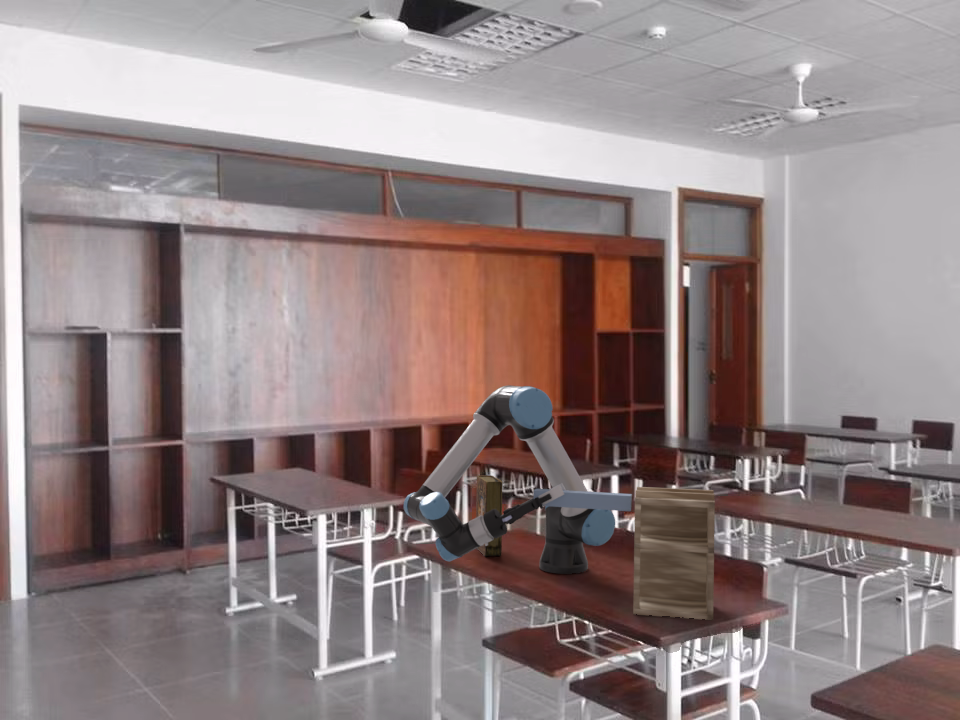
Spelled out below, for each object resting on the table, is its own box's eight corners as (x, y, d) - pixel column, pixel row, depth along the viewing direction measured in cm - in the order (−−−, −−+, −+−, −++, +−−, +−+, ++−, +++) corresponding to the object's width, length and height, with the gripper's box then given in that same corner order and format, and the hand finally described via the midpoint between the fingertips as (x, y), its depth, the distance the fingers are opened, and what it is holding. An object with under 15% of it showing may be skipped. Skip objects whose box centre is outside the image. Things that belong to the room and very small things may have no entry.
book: (475, 547, 311) (475, 475, 311) (490, 546, 312) (491, 475, 312) (485, 557, 295) (486, 481, 295) (501, 557, 296) (502, 481, 296)
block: (535, 503, 246) (536, 488, 246) (631, 509, 240) (631, 494, 240) (533, 505, 242) (533, 490, 242) (630, 511, 236) (631, 496, 236)
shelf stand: (636, 600, 245) (637, 485, 245) (711, 605, 240) (713, 488, 240) (633, 614, 231) (635, 492, 231) (713, 620, 227) (714, 496, 227)
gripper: (501, 533, 254) (573, 496, 250) (488, 545, 238) (565, 505, 233) (489, 509, 255) (560, 472, 251) (475, 519, 239) (552, 480, 234)
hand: (562, 488), depth 242 cm, fingers closed on block, 4 cm apart
